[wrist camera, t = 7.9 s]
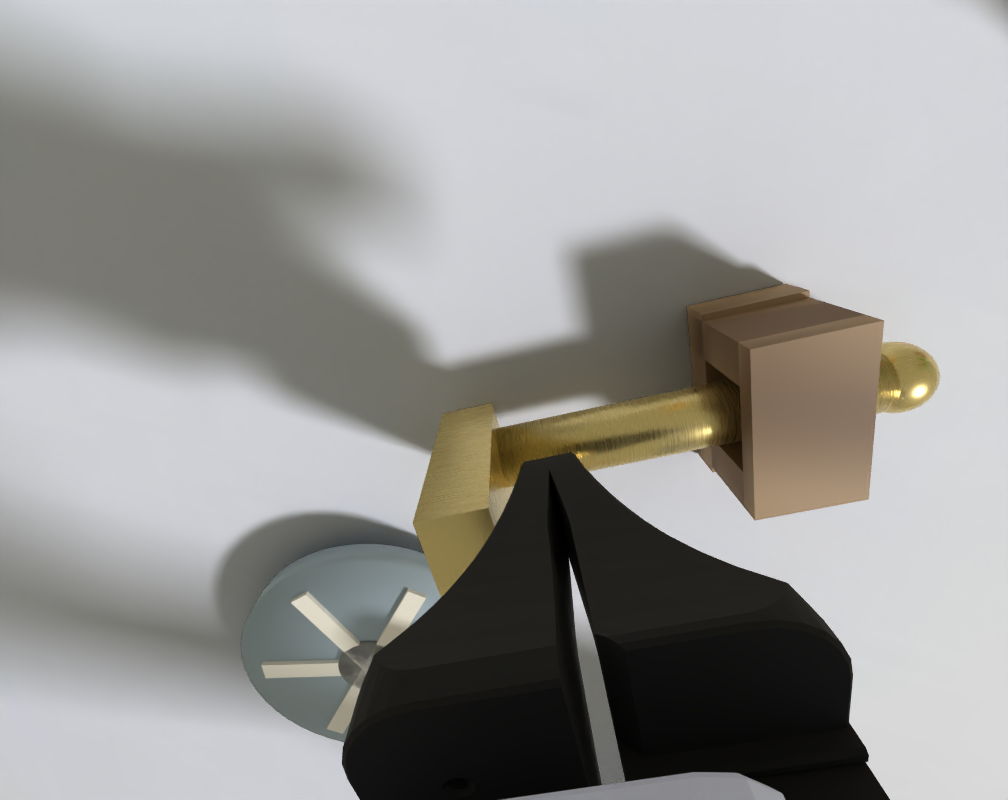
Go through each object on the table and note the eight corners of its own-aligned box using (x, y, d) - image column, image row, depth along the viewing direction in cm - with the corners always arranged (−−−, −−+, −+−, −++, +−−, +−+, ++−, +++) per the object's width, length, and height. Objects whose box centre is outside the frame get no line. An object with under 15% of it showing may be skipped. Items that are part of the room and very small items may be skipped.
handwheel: (284, 725, 21) (223, 873, 16) (224, 548, 17) (121, 676, 12) (507, 719, 21) (508, 865, 16) (497, 538, 17) (496, 664, 12)
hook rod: (895, 400, 14) (1102, 503, 10) (465, 487, 16) (449, 620, 11) (904, 313, 13) (1142, 379, 8) (442, 413, 15) (412, 523, 10)
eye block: (785, 437, 16) (868, 505, 13) (698, 454, 17) (755, 526, 13) (785, 283, 14) (884, 312, 11) (686, 306, 15) (749, 341, 11)
